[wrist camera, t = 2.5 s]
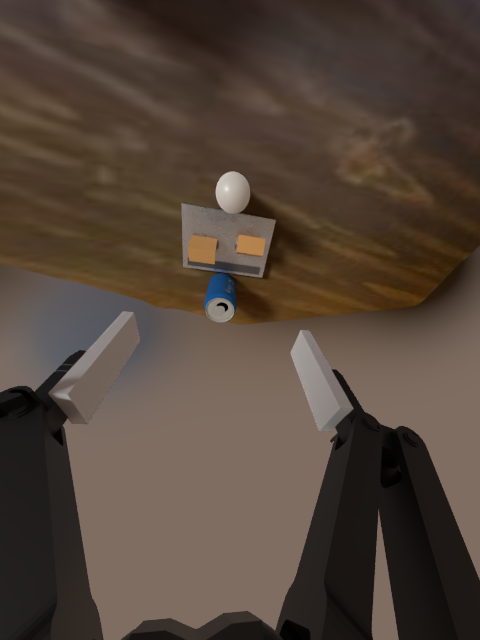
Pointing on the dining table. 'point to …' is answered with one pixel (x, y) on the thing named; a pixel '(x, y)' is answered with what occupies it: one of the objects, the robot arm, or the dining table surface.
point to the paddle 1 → (202, 249)
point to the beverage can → (220, 298)
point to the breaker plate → (226, 238)
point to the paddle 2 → (250, 246)
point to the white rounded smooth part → (233, 192)
